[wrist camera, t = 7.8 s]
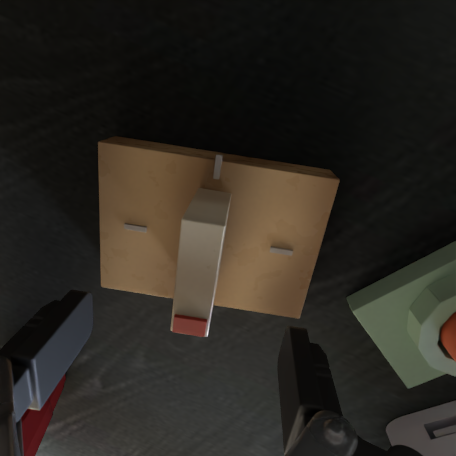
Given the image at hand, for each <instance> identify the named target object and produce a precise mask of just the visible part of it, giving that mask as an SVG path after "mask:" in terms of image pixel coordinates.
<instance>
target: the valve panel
mask: <svg viewBox="0 0 456 456" xmlns="http://www.w3.org/2000/svg"><path fill="white" fill-rule="evenodd" d="M98 168H99V214H100V261H101V287H105V288H111V289H118V290H124V291H130V292H136V293H143V294H149V295H155V296H161V297H168V298H174V289H175V279H176V269H177V259H178V249H179V238H180V228H181V219H182V217H183V216H184V214H185V212H186V210H187V208H188V206H189V205H190V203H191V201H192V199H193V197H194V195H195V194H196V192H197V190H198V188H203V189H209V190H215V191H221V192H227V193H231V194H232V195H231V201H230V207H229V213H228V219H227V226H226V232H225V238H224V244H223V251H222V257H221V263H220V269H219V275H218V282H217V287H216V293H215V299H214V304H213V305H217V306H224V307H230V308H236V309H242V310H249V311H255V312H261V313H267V314H274V315H280V316H286V317H292V318H298V319H299V318H300V315H301V312H302V308H303V305H304V301H305V298H306V295H307V291H308V288H309V284H310V281H311V277H312V274H313V271H314V267H315V264H316V260H317V257H318V253H319V250H320V247H321V243H322V240H323V236H324V233H325V229H326V226H327V223H328V219H329V216H330V212H331V209H332V205H333V202H334V199H335V195H336V192H337V188H338V185H339V181H340V180H339V179H338V178H337V176H336V175H335V174H334V173H333V172H332V171H331V170H328V169H322V168H315V167H309V166H302V165H296V164H290V163H283V162H277V161H271V160H264V159H258V158H252V157H245V156H239V155H233V154H226V153H220V152H214V151H207V150H201V149H194V148H188V147H182V146H175V145H169V144H163V143H156V142H150V141H144V140H137V139H131V138H125V137H118V136H114V137H111V138H108V139H105V140H102V141H99V142H98Z"/></svg>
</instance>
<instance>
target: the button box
mask: <svg viewBox="0 0 456 456" xmlns="http://www.w3.org/2000/svg"><path fill="white" fill-rule="evenodd" d="M346 299H347V301H348V303H349V305H350V308H351V310H352V312H353V313H354V315H355V316H356V317H357V319H358V320H359V322H360V323H361V324H362V326H363V327H364V328H365V330H366V331H367V333H368V334H369V335H370V337H371V338H372V340H373V341H374V342H375V344H376V345H377V346H378V348H379V349H380V351H381V352H382V353H383V355H384V356H385V358H386V359H387V360H388V362H389V363H390V364H391V366H392V367H393V369H394V370H395V371H396V373H397V374H398V376H399V377H400V378H401V380H402V381H403V382H404V384H405V385H406V387H407V388H408V389H409V388H412V387H414V386H417V385H419V384H422V383H424V382H427V381H429V380H432V379H434V378H437V377H439V376H442V375H444V374H450V375H452V376H456V362H455V361H454V359H453V358H452V357H451V355H450V354H449V353H448V351H447V350H446V349H445V347H444V346H443V344H442V342H441V338H440V332H441V328H442V326H443V324H444V323H445V322H446V321H447V320H448V318H449V317H450V316H451V315H452V314H453V313H455V312H456V241H455V242H453V243H451V244H449V245H447V246H445V247H443V248H441V249H439V250H437V251H435V252H433V253H431V254H429V255H427V256H425V257H423V258H422V259H420V260H418V261H416V262H414V263H412V264H410V265H408V266H406V267H404V268H402V269H400V270H398V271H396V272H394V273H392V274H391V275H389V276H387V277H385V278H383V279H381V280H379V281H377V282H375V283H373V284H371V285H369V286H367V287H365V288H363V289H361V290H360V291H358V292H356V293H354V294H352V295H350V296H348V297H346Z"/></svg>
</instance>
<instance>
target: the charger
mask: <svg viewBox="0 0 456 456" xmlns="http://www.w3.org/2000/svg"><path fill="white" fill-rule="evenodd" d="M386 432H387V435H388V437H389V440H390V443H391V445H392V446H394V445H405V446H408V447H410V448H413V449H414V450H416V451H418V452H419V453H420V454H422V455H423V456H456V400H455V401H452V402H449V403H445V404H442V405H439V406H435V407H432V408H429V409H425V410H422V411H418V412H415V413H412V414H408V415H405V416H402V417H399V418H396V419H394V420H393V421H391V422H390V423H389V424H388V425H387V427H386Z"/></svg>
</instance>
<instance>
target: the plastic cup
mask: <svg viewBox="0 0 456 456" xmlns="http://www.w3.org/2000/svg"><path fill="white" fill-rule="evenodd" d="M65 380H66V377H65V374H64V376H63V377H62V379H61V380H60V381H59V383H58V384H57V386H56V387H55V389H54V390H53V392H52V393H51V395H50V396H49V398H48V399H47V401H46V402H45V404H44V405H43V407H42V408H41V410H40V411H39V410H33V409H27V410H26V411H25V413H24V414H23V416H22V417H21V422H22V436H23V450H24V456H35V454H36V452H37V450H38V448H39V445H40V443H41V441H42V438H43V436H44V434H45V431H46V429H47V427H48V425H49V422H50V420H51V418H52V415H53V410H54V408H55V406H56V403H57V401H58V399H59V397H60V394H61V392H62V390H63V387H64V382H65Z"/></svg>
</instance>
